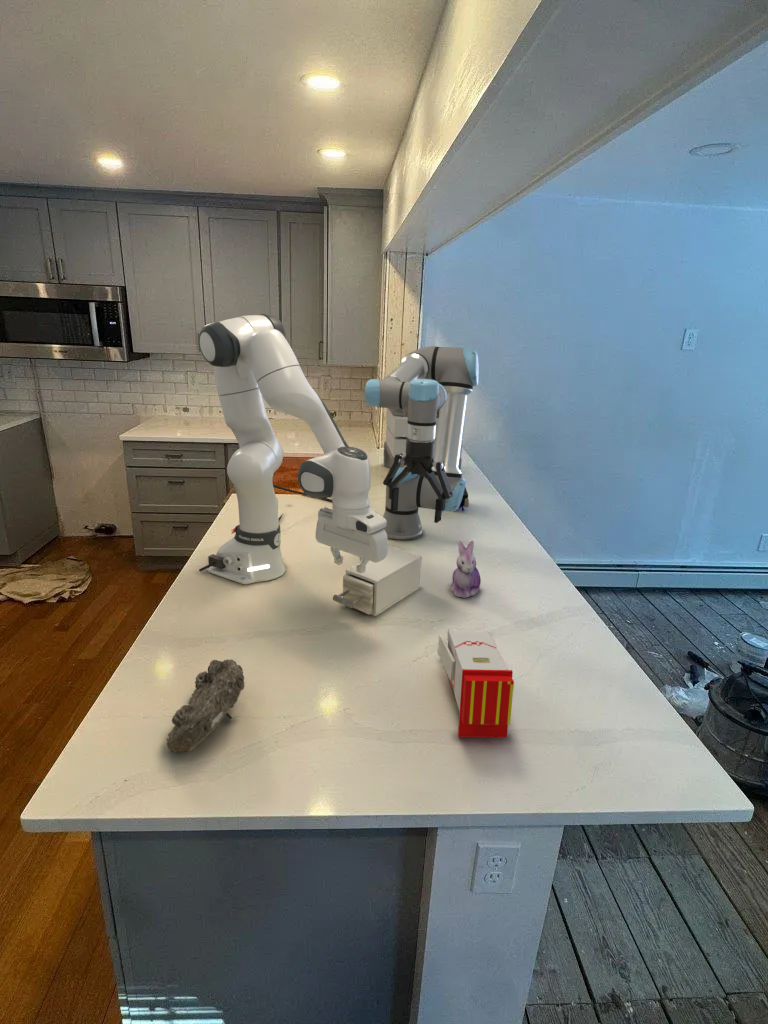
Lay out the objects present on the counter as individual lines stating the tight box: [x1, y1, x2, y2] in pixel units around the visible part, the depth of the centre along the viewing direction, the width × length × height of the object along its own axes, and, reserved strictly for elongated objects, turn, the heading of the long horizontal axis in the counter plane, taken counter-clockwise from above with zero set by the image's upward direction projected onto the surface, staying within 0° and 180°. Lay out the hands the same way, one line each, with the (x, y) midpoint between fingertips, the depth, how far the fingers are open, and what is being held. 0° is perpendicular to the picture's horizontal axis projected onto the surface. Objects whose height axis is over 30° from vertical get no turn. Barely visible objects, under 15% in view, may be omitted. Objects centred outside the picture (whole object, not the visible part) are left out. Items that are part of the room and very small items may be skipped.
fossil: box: [166, 658, 245, 754], centre depth 106 cm, size 22×10×15 cm
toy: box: [437, 628, 515, 738], centre depth 117 cm, size 12×13×30 cm
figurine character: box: [455, 486, 470, 512], centre depth 229 cm, size 7×8×15 cm
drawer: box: [332, 574, 374, 616], centre depth 151 cm, size 25×9×8 cm, turn 143°
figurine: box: [450, 540, 482, 599], centre depth 158 cm, size 9×10×15 cm
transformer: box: [383, 408, 465, 472], centre depth 268 cm, size 34×33×41 cm
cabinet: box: [345, 545, 423, 617], centre depth 155 cm, size 21×10×10 cm, turn 143°
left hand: (349, 567), depth 140 cm, fingers open, 6 cm apart
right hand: (415, 516), depth 156 cm, fingers open, 13 cm apart
